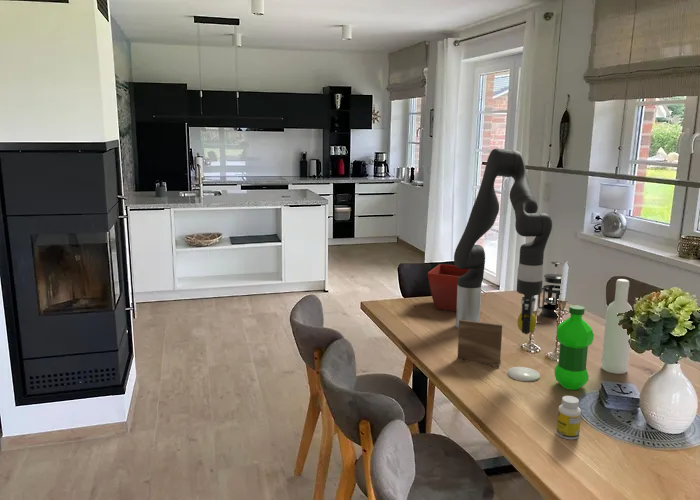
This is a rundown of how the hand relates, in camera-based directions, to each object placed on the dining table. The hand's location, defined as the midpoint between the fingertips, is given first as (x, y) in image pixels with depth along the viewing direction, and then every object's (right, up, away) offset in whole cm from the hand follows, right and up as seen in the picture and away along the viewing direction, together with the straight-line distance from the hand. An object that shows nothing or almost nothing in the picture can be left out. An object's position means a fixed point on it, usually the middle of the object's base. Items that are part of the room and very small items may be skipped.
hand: (526, 329), depth 178 cm
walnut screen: (-12, -13, +13) cm, 22 cm away
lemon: (0, -2, 0) cm, 2 cm away
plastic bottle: (+12, -17, -5) cm, 21 cm away
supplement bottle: (0, -22, -33) cm, 40 cm away
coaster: (0, -15, +3) cm, 15 cm away
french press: (+30, -3, +64) cm, 71 cm away
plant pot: (-9, -1, +74) cm, 75 cm away
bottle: (+31, -14, +8) cm, 35 cm away
